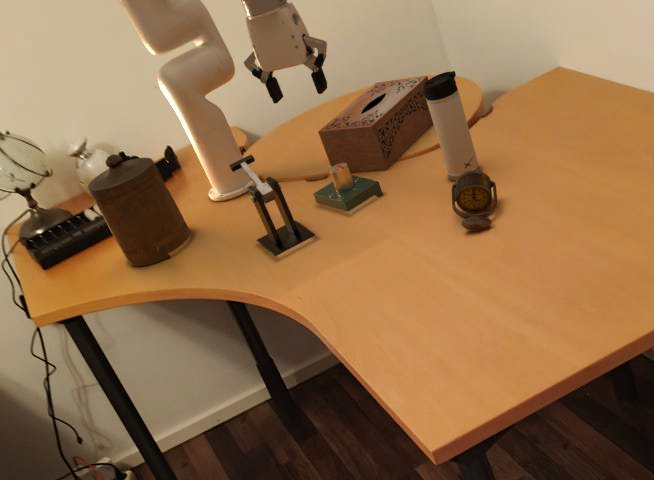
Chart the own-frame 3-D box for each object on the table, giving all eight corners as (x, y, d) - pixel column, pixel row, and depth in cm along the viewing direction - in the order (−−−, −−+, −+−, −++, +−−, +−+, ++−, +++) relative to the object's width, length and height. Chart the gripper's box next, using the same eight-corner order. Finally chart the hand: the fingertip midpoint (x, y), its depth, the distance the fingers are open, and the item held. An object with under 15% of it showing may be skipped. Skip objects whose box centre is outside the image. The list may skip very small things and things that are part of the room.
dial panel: (318, 206, 179) (312, 192, 177) (350, 186, 182) (345, 172, 181) (349, 215, 170) (344, 201, 168) (383, 194, 174) (378, 180, 172)
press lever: (231, 171, 168) (228, 162, 166) (253, 160, 169) (250, 151, 167) (259, 207, 163) (256, 198, 160) (281, 195, 164) (279, 186, 162)
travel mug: (479, 177, 166) (452, 78, 155) (447, 184, 168) (418, 86, 157) (483, 163, 171) (457, 66, 160) (451, 170, 173) (423, 74, 162)
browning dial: (332, 190, 175) (324, 169, 172) (347, 181, 177) (339, 160, 174) (343, 193, 172) (334, 171, 170) (358, 184, 174) (350, 162, 171)
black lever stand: (258, 244, 172) (232, 188, 165) (297, 224, 174) (272, 168, 167) (277, 260, 164) (250, 201, 156) (317, 239, 166) (292, 180, 159)
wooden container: (158, 231, 195) (110, 143, 183) (204, 229, 188) (158, 136, 175) (115, 267, 186) (62, 176, 173) (163, 266, 178) (111, 171, 166)
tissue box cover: (386, 169, 184) (371, 126, 178) (333, 173, 191) (318, 131, 186) (439, 117, 200) (427, 75, 194) (388, 122, 207) (375, 82, 202)
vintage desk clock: (511, 168, 152) (459, 161, 155) (486, 197, 143) (431, 189, 146) (511, 205, 156) (460, 198, 160) (486, 236, 147) (433, 227, 151)
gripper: (315, -16, 149) (348, 79, 159) (234, 7, 156) (270, 96, 166) (298, -2, 144) (333, 95, 153) (215, 20, 151) (253, 112, 160)
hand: (300, 95), depth 160 cm, fingers open, 9 cm apart
